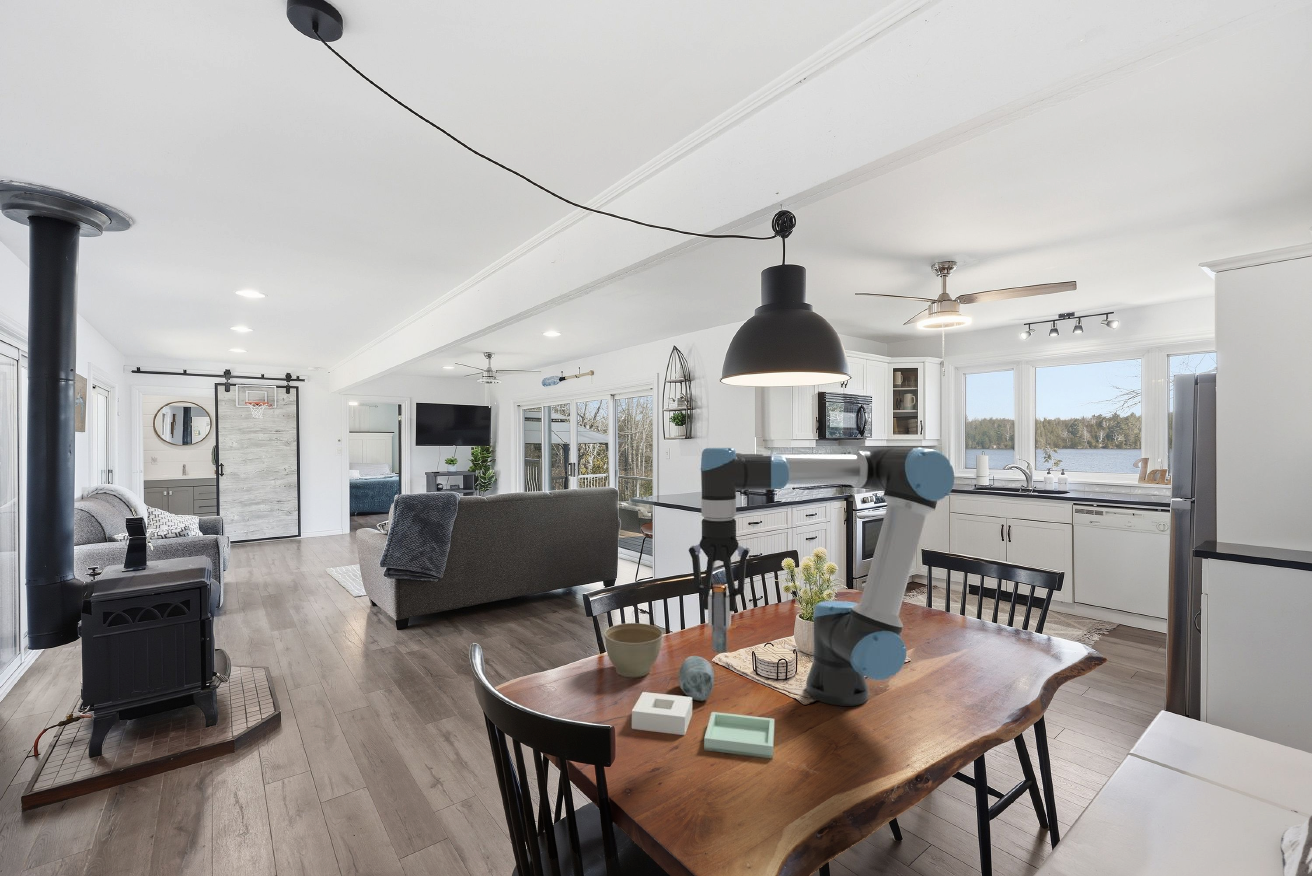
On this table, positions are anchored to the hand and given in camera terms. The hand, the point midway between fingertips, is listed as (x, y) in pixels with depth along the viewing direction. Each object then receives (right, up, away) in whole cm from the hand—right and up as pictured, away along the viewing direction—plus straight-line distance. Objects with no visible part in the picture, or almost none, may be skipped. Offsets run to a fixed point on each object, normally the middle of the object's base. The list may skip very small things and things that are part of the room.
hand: (719, 624), depth 130 cm
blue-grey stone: (-4, -24, +21) cm, 32 cm away
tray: (+4, -24, -2) cm, 25 cm away
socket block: (-12, -24, +6) cm, 28 cm away
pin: (0, -6, 0) cm, 6 cm away
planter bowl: (-20, -24, +34) cm, 46 cm away
